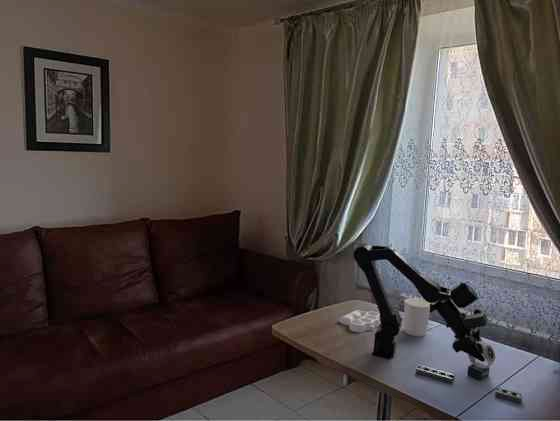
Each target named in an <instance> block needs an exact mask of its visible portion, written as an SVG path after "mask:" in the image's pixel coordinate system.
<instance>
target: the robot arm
mask: <svg viewBox="0 0 560 421" xmlns="http://www.w3.org/2000/svg"><path fill="white" fill-rule="evenodd" d="M352 256H353V259H354V261H355V263H357V266H358V267H359V268H360V269H361V271H362V272H363V273H364V276H365V278H366V280H367V283H368V286H369V288H370V290H371V293H372V294H371V295H372V296H373V298H374V301H375V304H376V307H377V309H378V311H379V312H378V313H380V323H381V324H380V325H378V327H377V329H376V331H375V333H374V342H373V343H374V344H373V351H372V352H371V355H374V356H376V357H380V358H384V359H387V360H391V359H392V357H394V356H395V354H396V352H397V350H396V349H397V342H396V337H397V336H398V335H399V333H400V330H401V328H402V324H403V318H402V316H401V313H400V310H399V308H397V309H394V308H393V306H392V305H391V302H390V300H389V298H388V295H387V293H386V290H385V286H384V285H383V282H382V280H381V277H380V274H379V272H378V270H377V264H376V261H383V260H384V261H385V260H386V261H388V263H389V264H391V265H392V266H393V267H394V268H395V269H396V270H397V271H399V272H400V274H402V275H403V276H404V277H405V278H406V279H407V280H408V281H409V282H411V283H412V284H413V285H414V287H415V289H416V291H418V292H417V293H419V295H420V296H421V297H422V299H423V300H425V301H427V302H429V303H430V310H429V312H430V314H431V313H433V312H434V311H436V312H437V313H438V315H439V316H440V317H441V319H442V320H443V321H444V322H445V327H446V328H447V329H450V330H451V331H452V333H453V334H454V338H455V339H454V341H453V342H452V347H451V348H452V349H453V350H454V351H455V353H459V352H463V353H465V354H467V355H468V354H469V355H471V356H473V357H474V358H475V359H477V361H479V362H482V363H484V362H486V359H485V358H484V355H483V349H482V347H481V345H480V344H478V343H477V341H482V342H483V340H482V337H481V331H482V328H485V327H486V326H488V323H489V322H488V321H489V320H488V319H487V314H486V312H485V311H482V310H481V309H480V308H476V309H475V308H474V310H473V313H470V314H469V315H467V314H466V313H465V312H461V311H460V310H459V308H460V309H466V308H467V307H468V306H470V305H471V304H473V303H475V301H478V300H479V296H478V294H477V293H476V291H475V290H474V288H473V287H472V286H470V285H469V284H467V283H466V282H465V281H461V282H460V283H459V284H458V285H457V286H455V287H453V288H450V287H447V286H443V285H441V284H440V283H439V282H437V281H436V280H434V279H432V278H431V277H429V276H427V275H425V274H423V273H422V272H421V271H419V270H418V269H417V268H416V267H415V266H414V265H412V263H410V262H409V261H408V260H407V259H405V257H404V256H402V255H401V254H400V253H399V252H398V251H397V250H396V249H395V247H394V246H391V245H387V246H385V245H384V246H383V245H371V244H369V243H365V242H364V243H361V244H360V245H358V246H357V247H356V248H355V249H354V251H353V254H352ZM476 328H479V329H478V330H477V329H476ZM476 343H477V344H476Z"/></svg>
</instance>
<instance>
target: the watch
mask: <svg viewBox="0 0 560 421" xmlns="http://www.w3.org/2000/svg"><path fill="white" fill-rule="evenodd" d="M477 343H478V344H480V345H481V347H482V349H483V354H482V355H483V356H484V358H485V361H486V362H487V365H486V364H483V363H481V362H480V361H479V362H478V361H477V360H476V358H474V357H473V356H471V355H469V354H467V356H468V359H469V361H470V363H471V364H470V365H467V374H466V376H468V377H470V378H473V379H475V380H477V381H479V382H481V381H483V380H485V379H486V378H488V377H489V376H490V375H489V374H490V369H491V367H490V366H492V364H494V362H495V360H496V353H495V351H494V348H493V347H492V346H491V345H490V344H488V343H487V342H485V341H483V340H482V341H477ZM477 343H476V344H477Z"/></svg>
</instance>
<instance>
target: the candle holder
mask: <svg viewBox="0 0 560 421" xmlns="http://www.w3.org/2000/svg"><path fill="white" fill-rule="evenodd" d="M429 310H430V303H429V302H427V301H425V300H424V298H422V299H421V298H415V297H410V298H409V297H408V298H406V299H405V300H404V311H403V312H404V315H403V316H404V319H403V320H404V321H403V331H404V332H405V333H406V334H407V335H410V336H413V337H423V336H426V334H427V331H428V325H429V319H430V314H431V313H430V312H429Z"/></svg>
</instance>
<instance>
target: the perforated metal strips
mask: <svg viewBox="0 0 560 421" xmlns="http://www.w3.org/2000/svg"><path fill="white" fill-rule="evenodd" d="M415 375H418V376H422V377H425V378H429V379H431V380H435V381H439V382H442V383H446V384H447V385H448V384H449V385H453V381H454V380H455V374H453V373H450V372H447V371H443V370H440V369H435V368H432V367H428V366H424V365H421V364H418V365H417V367H416V368H415ZM494 397H495V398H496V399H500V400H503V401H507V402H511V403H514V404H516V405H521V404H522V401H523V393H521V392H517V391H513V390H510V389H507V388H504V387H499V386H496V390H495V395H494Z"/></svg>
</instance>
